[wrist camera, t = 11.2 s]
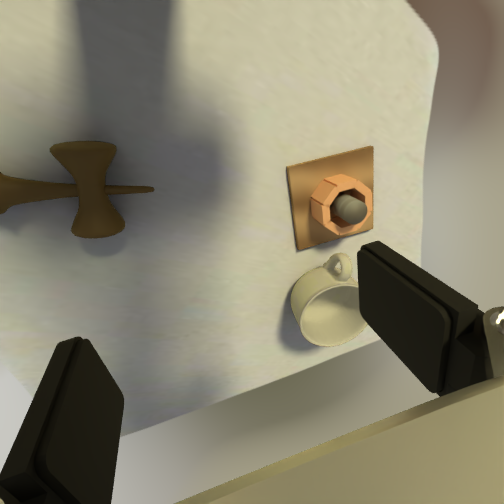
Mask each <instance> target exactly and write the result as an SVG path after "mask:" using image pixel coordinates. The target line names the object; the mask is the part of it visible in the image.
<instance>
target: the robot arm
mask: <svg viewBox="0 0 504 504" xmlns="http://www.w3.org/2000/svg"><path fill="white" fill-rule="evenodd" d="M357 265H358V289H359V310H360V314H361V316H362V318H363V319H364V320H365V321H366V322H367V324H368V325H369V326H370V327H371V328H372V329H373V330H374V331H375V332H376V333H377V335H378V336H379V337H380V338H381V339H382V340H383V341H384V342H385V343H386V344H387V345H388V347H389V348H390V349H391V350H392V351H393V352H394V353H395V354H396V355H397V356H398V358H399V359H400V360H401V361H402V362H403V363H404V364H405V365H406V366H407V367H408V368H409V370H410V371H411V372H412V373H413V374H414V375H415V376H416V377H417V378H418V379H419V380H420V382H421V383H422V384H423V385H424V386H425V387H426V388H427V389H428V390H429V391H430V392H432V393H437V394H438V395H439V396H440V397H439V398H436V399H434V400H431V401H429V402H426V403H423V404H421V405H418V406H415V407H413V408H411V409H408V410H405V411H403V412H400V413H398V414H395V415H393V416H390V417H388V418H385V419H383V420H380V421H378V422H375V423H373V424H370V425H368V426H365V427H363V428H360V429H357V430H355V431H352V432H350V433H347V434H345V435H342V436H340V437H337V438H335V439H332V440H330V441H328V442H325V443H323V444H320V445H318V446H316V447H313V448H310V449H308V450H305V451H303V452H300V453H298V454H295V455H293V456H291V457H288V458H285V459H283V460H280V461H278V462H276V463H273V464H270V465H268V466H266V467H263V468H261V469H258V470H256V471H253V472H251V473H248V474H246V475H243V476H241V477H238V478H236V479H233V480H231V481H228V482H226V483H224V484H221V485H219V486H216V487H214V488H211V489H209V490H207V491H204V492H202V493H199V494H197V495H194V496H192V497H190V498H187V499H184V500H182V501H180V502H177V503H175V504H504V307H503V306H501V307H495V308H492V309H490V310H488V311H486V312H485V313H484V312H482V311H481V310H479V309H478V305H477V304H475V303H474V302H472V301H471V300H469V299H468V298H466V297H465V296H463V295H461V294H460V293H458V292H457V291H455V290H454V289H452V288H451V287H449V286H448V285H446V284H445V283H443V282H441V281H440V280H438V279H437V278H435V277H434V276H432V275H431V274H429V273H428V272H426V271H425V270H423V269H422V268H420V267H418V266H417V265H415V264H414V263H412V262H411V261H409V260H408V259H406V258H405V257H403V256H402V255H400V254H398V253H397V252H395V251H394V250H392V249H391V248H389V247H388V246H386V245H385V244H383V243H382V242H380V241H375V242H372V243H369V244H365V245H363V246H361V250H360V251H358V253H357ZM123 409H124V397H123V394H122V392H121V390H120V388H119V387H118V385H117V384H116V382H115V380H114V379H113V377H112V376H111V374H110V372H109V371H108V369H107V368H106V366H105V364H104V363H103V361H102V360H101V358H100V357H99V355H98V353H97V352H96V350H95V349H94V347H93V345H92V344H91V342H90V341H89V340H88V339H82V338H81V337H75V338H71V339H68V340H65V341H62V342H60V343H58V344H57V346H56V348H55V350H54V353H53V355H52V357H51V360H50V362H49V364H48V366H47V369H46V371H45V373H44V375H43V378H42V380H41V382H40V385H39V387H38V389H37V391H36V394H35V396H34V398H33V401H32V403H31V405H30V407H29V410H28V412H27V414H26V416H25V419H24V421H23V423H22V426H21V428H20V430H19V432H18V435H17V437H16V439H15V441H14V444H13V446H12V448H11V451H10V453H9V455H8V457H7V460H6V462H5V464H4V466H3V469H2V471H1V473H0V504H111V500H112V492H113V485H114V477H115V469H116V462H117V454H118V447H119V439H120V432H121V424H122V417H123Z"/></svg>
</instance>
